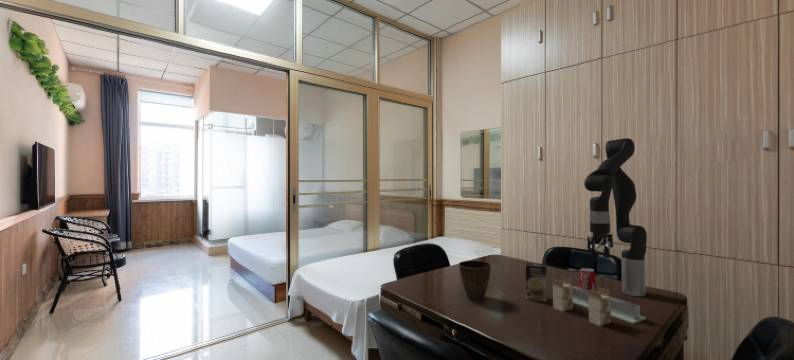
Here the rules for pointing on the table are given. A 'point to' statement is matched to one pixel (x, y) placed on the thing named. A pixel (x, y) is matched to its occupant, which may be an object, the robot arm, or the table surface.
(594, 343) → the table surface
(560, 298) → the post
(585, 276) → the soda can
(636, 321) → the felt mat
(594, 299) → the post
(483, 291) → the plant pot
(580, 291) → the rail
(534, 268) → the coffee box
